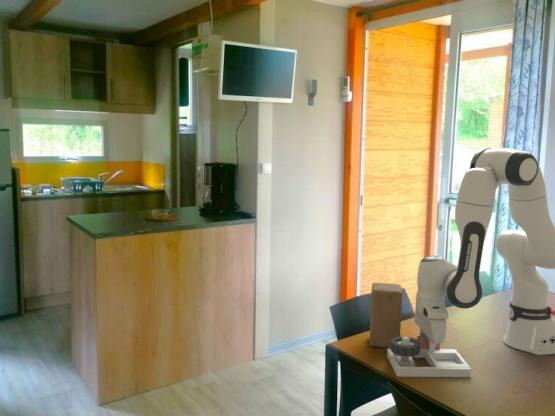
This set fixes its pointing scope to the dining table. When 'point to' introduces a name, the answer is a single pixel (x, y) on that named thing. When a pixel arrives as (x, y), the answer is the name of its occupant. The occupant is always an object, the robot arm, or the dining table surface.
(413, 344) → the wheel
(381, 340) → the wooden block
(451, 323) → the dining table surface
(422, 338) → the two-tone grey-capped cube
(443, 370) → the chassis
